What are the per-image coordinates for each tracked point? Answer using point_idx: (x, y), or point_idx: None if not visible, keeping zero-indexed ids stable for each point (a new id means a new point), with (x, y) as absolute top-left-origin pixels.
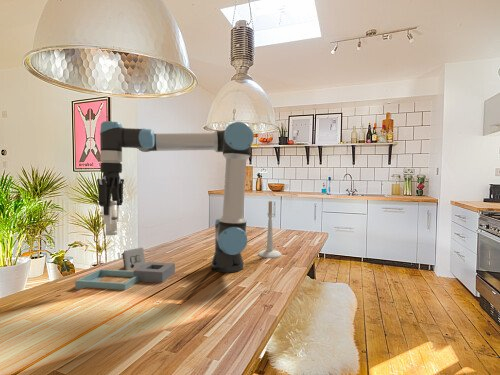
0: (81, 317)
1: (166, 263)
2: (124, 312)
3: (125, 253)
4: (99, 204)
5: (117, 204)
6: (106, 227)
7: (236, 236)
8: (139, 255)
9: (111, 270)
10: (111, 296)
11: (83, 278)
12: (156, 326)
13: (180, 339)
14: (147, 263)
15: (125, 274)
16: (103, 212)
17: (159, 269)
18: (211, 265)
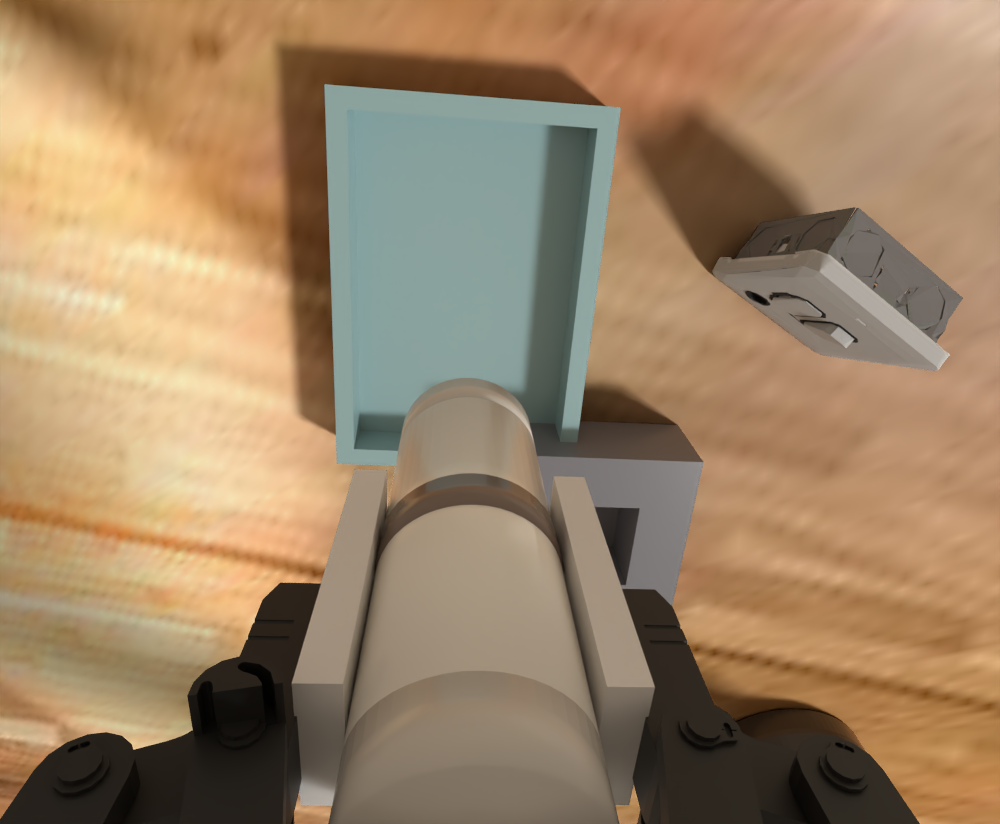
0: (15, 394)
1: (664, 583)
2: (130, 546)
3: (799, 271)
4: (54, 764)
5: (644, 803)
6: (397, 459)
7: None
8: (856, 342)
9: (587, 229)
10: (278, 396)
11: (390, 112)
12: (69, 696)
13: (22, 780)
14: (665, 469)
15: (569, 338)
16: (254, 624)
17: None
18: (761, 729)
